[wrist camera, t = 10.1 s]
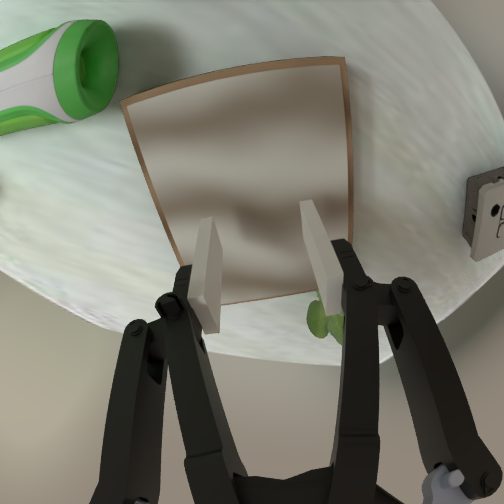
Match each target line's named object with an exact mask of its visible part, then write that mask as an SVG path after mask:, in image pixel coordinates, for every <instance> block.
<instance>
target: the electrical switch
mask: <svg viewBox="0 0 504 504" xmlns="http://www.w3.org/2000/svg"><path fill="white" fill-rule="evenodd" d="M503 175H504V167H502V168H499V169H496V170H493V171H490V172H487V173H484V174H480V175H477V176H474V177H471V178H468V179H469V180H468V182H467V198H466V209H465V219H464V227H463V235H462V236H463V237H464V238H465V239H466V241H467V242H468V244H469V245H470V247H471V253H470V257H471V258H472V259H473V260H474V261H476V262H477V261H479V260H481V259H484V258H486V257H488V256H490V255H492V254H494V253H496V252H498V251H500V250H502V249H503V248H504V176H503ZM483 176H484V177H483ZM498 177H500V179H498ZM477 178H478V179H477ZM472 182H473V183H474V184H473V183H472ZM469 201H470V203H469ZM472 208H474V209H472ZM473 214H474V215H475V216H476V220H475V219H474V220H473V218H472V215H473ZM470 221H471V222H470ZM472 223H473V224H474V225H473V224H472Z"/></svg>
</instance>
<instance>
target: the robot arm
mask: <svg viewBox="0 0 504 504" xmlns="http://www.w3.org/2000/svg"><path fill="white" fill-rule="evenodd" d="M300 210H301V220H302V231H303V239H304V242H305V245H306V248H307V252H308V255H309V258H310V262H311V265H312V268H313V272H314V275H315V278H316V282H317V285H318V289H319V292H320V296H321V299H322V303H323V306H324V310H325V314H326V316H330V315H335V314H340V313H341V307H342V310H343V313H344V318H343V328H342V329H343V344H342V362H341V377H340V390H339V401H338V410H337V420H336V428H335V436H334V443H333V450H332V455H331V460H330V466H329V467H325V468H320V469H314V470H310V471H307V472H305V473H302V474H299V475H297V476H294V477H291V478H288V479H285V480H280V479H273V478H265V477H259V476H249V477H248V474H247V471H246V469H245V467H244V465H243V463H242V462H241V460H240V457H239V455H238V452H237V449H236V446H235V443H234V440H233V437H232V434H231V431H230V428H229V425H228V422H227V419H226V416H225V412H224V409H223V406H222V403H221V399H220V396H219V393H218V389H217V386H216V383H215V379H214V376H213V372H212V369H211V365H210V362H209V358H208V354H207V350H206V347H205V343H204V340H203V338H202V336H201V334H202V329H203V331H204V333H205V334H213V333H220V309H221V285H222V265H223V249H222V246H221V242H220V239H219V236H218V232H217V229H216V226H215V222H214V219H213V217H208V218H202V219H201V221H200V226H199V231H198V237H197V242H196V248H195V253H194V259H193V264H191V265H185V266H181V267H180V269H179V270H178V272H177V273H176V277H175V282H174V287H173V292H169V293H166V294H164V295H162V296H161V297H159V298H158V300H157V301H156V303H155V308H156V310H157V311H158V313H159V315H160V316H161V318H160V319H158V320H155V321H153V322H150V323H148V324H147V322H146V321H144V320H143V319H137V320H133V321H132V322H130V323H129V324H128V325H127V326H126V328H125V330H124V334H123V338H122V342H121V346H120V351H119V355H118V360H117V364H116V369H115V374H114V379H113V383H112V389H111V394H110V400H109V405H108V411H107V417H106V424H105V431H104V438H103V446H102V454H101V464H100V475H99V482H98V485H97V487H96V489H95V492H94V494H93V496H92V498H91V501H90V503H89V504H158V500H159V494H160V475H161V474H160V473H161V448H162V428H163V415H164V401H165V390H166V379H167V369H168V366H169V372H170V378H171V384H172V389H173V394H174V400H175V405H176V410H177V414H178V420H179V424H180V429H181V433H182V437H183V442H184V446H185V450H186V458H185V460H184V467H185V471H186V475H187V479H188V482H189V486H190V489H191V493H192V496H193V500H194V503H195V504H404V503H402V502H401V501H399V500H398V499H397V498H395V497H394V496H392V495H391V494H389V493H388V492H387V491H385V490H384V489H382V488H381V487H380V486H378V485H377V484H376V481H377V473H378V463H379V453H380V437H379V434H378V418H379V340H378V325H383V326H384V329H385V332H386V335H387V337H388V340H389V343H390V346H391V349H392V352H393V355H394V358H395V361H396V364H397V367H398V371H399V374H400V377H401V380H402V384H403V387H404V390H405V394H406V398H407V401H408V404H409V408H410V412H411V416H412V420H413V424H414V428H415V432H416V436H417V440H418V445H419V449H420V453H421V457H422V460H423V463H424V466H425V468H426V471H427V473H428V475H427V476H426V478H425V479H424V481H423V484H422V492H423V497H424V499H423V504H470V503H472V502H473V501H474V500H476V499H481V498H485V497H488V496H491V495H492V494H493V493H494V492H496V490H497V489H498V488H499V486H500V484H501V481H502V470H501V467H500V466H499V465H498V463H497V461H496V460H495V458H494V457H493V456H492V454H491V453H490V451H489V450H488V449H487V447H486V446H485V444H484V443H483V441H482V440H481V439H480V437H479V436H478V433H477V430H476V426H475V423H474V420H473V416H472V413H471V410H470V407H469V404H468V401H467V398H466V395H465V392H464V389H463V387H462V384H461V381H460V378H459V376H458V373H457V371H456V368H455V366H454V363H453V361H452V358H451V356H450V353H449V351H448V349H447V346H446V344H445V342H444V339H443V337H442V335H441V333H440V331H439V329H438V326H437V324H436V322H435V320H434V318H433V316H432V314H431V312H430V310H429V308H428V306H427V304H426V302H425V300H424V298H423V296H422V294H421V292H420V290H419V288H418V286H417V284H416V283H415V282H414V281H413V280H412V279H410V278H407V277H398V278H395V279H394V280H393V281H392V283H391V284H380V283H376V282H373V280H372V279H371V278H370V277H368V276H366V275H365V273H364V270H363V268H362V266H361V264H360V262H359V260H358V258H357V256H356V254H355V252H354V250H353V248H352V246H351V244H350V243H349V242H348V241H347V240H346V239H344V238H342V239H336V240H331V241H330V239H329V237H328V235H327V232H326V230H325V228H324V225H323V223H322V221H321V218H320V216H319V214H318V212H317V210H316V207H315V205H314V203H313V201H312V199H311V200H305V201H300Z"/></svg>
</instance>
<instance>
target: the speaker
mask: <svg viewBox="0 0 504 504" xmlns="http://www.w3.org/2000/svg"><path fill="white" fill-rule="evenodd" d="M117 75H118V48H117V43H116V39H115V35H114V33H113V31H112V29H111V27H110V26H109V25H108V24H107V23H106V22H104V21H102V20H75V21H69V22H66V23H64V24H62V25H60V26H59V27H57V28H52V29H49V30H47V31H44V32H41V33H39V34H36V35H33V36H31V37H29V38H26V39H24V40H21V41H19V42H17V43H15V44H12V45H10V46H8V47H6V48H4V49H2V50H0V136H1V135H5V134H9V133H13V132H17V131H21V130H26V129H30V128H35V127H39V126H44V125H49V124H54V123H59V122H61V123H73V122H76V121H79V120H82V119H85V118H87V117H89V116H92V115H94V114H96V113H98V112H101V111H102V110H103V109H104V108H105V107H106V106H107V105H108V103H109V102H110V100H111V98H112V95H113V92H114V89H115V86H116V81H117Z"/></svg>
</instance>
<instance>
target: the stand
mask: <svg viewBox="0 0 504 504" xmlns="http://www.w3.org/2000/svg"><path fill="white" fill-rule="evenodd" d="M119 102H120V105H121V108H122V112H123V115H124V118H125V121H126V124H127V127H128V131H129V134H130V137H131V140H132V143H133V146H134V149H135V151H136V154H137V157H138V160H139V163H140V166H141V169H142V171H143V174H144V177H145V180H146V182H147V185H148V188H149V190H150V193H151V196H152V198H153V201H154V203H155V206H156V209H157V211H158V214H159V216H160V219H161V221H162V224H163V226H164V229H165V231H166V234H167V236H168V238H169V241H170V243H171V246H172V248H173V250H174V253H175V255H176V257H177V260H178V262H179V264H180V267H181V266H185V265H191V264H193V259H194V253H195V248H196V242H197V237H198V231H199V226H200V221H201V219H202V218H208V217H213V219H214V222H215V226H216V229H217V232H218V236H219V239H220V242H221V246H222V249H223V265H222V285H221V306H222V305H229V304H236V303H243V302H250V301H256V300H263V299H269V298H275V297H281V296H287V295H293V294H299V293H305V292H311V291H316V290H319V289H318V285H317V282H316V278H315V275H314V272H313V268H312V265H311V262H310V258H309V255H308V252H307V248H306V245H305V242H304V239H303V231H302V220H301V210H300V201H305V200H311V199H312V201H313V203H314V205H315V207H316V210H317V212H318V214H319V216H320V218H321V221H322V223H323V225H324V228H325V230H326V232H327V235H328V237H329V239H330V241H331V240H336V239H342V238H344V239H346V240H347V241H348V242H349V243H350V244H351V246H352V237H353V149H352V128H351V113H350V101H349V90H348V80H347V71H346V63H345V57H335V56H323V57H307V58H295V59H285V60H277V61H269V62H262V63H255V64H249V65H243V66H238V67H232V68H227V69H222V70H218V71H213V72H209V73H204V74H200V75H196V76H192V77H189V78H185V79H181V80H178V81H174V82H171V83H167V84H164V85H161V86H158V87H154V88H151V89H148V90H145V91H142V92H140V93H137V94H134V95H132V96H130V97H127V98H125V99H123V100H121V101H119Z"/></svg>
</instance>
